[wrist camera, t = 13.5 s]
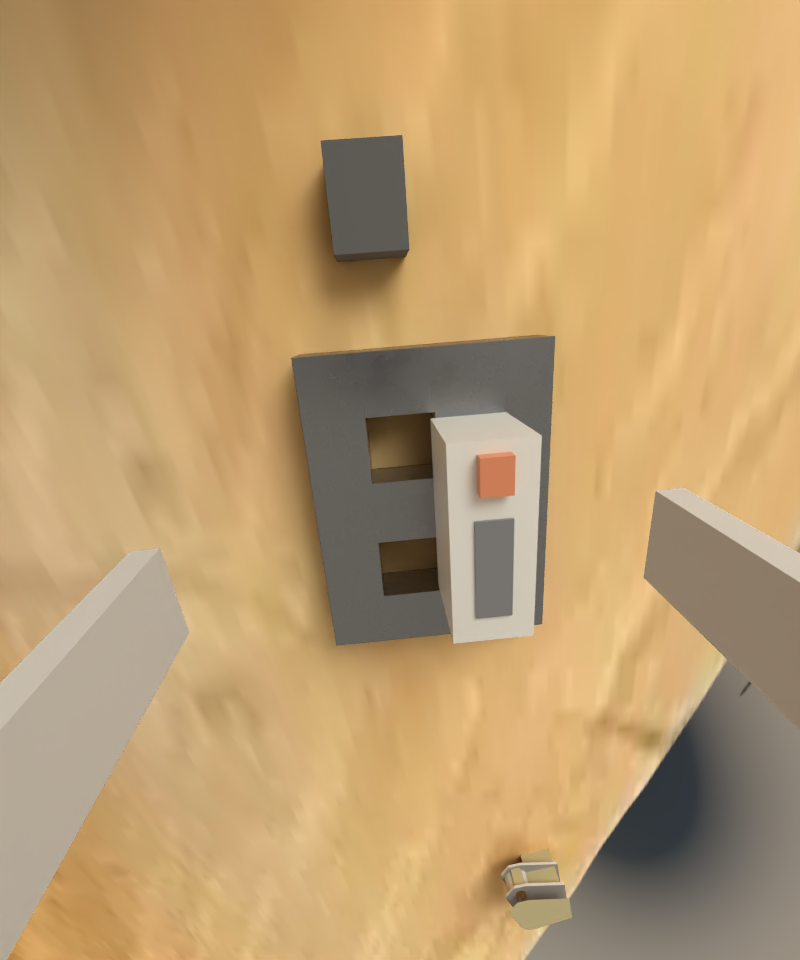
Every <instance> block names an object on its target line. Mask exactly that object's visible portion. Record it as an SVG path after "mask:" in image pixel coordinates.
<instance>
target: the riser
mask: <svg viewBox="0 0 800 960" xmlns="http://www.w3.org/2000/svg"><path fill="white" fill-rule="evenodd" d="M321 148H322V157H323V166H324V174H325V183H326V192H327V200H328V209H329V218H330V226H331V235H332V244H333V252H334V256H335V258H336V260H337V262H344V261H357V260H370V259H383V258H396V257H406V255H407V253H408V251H409V237H408V221H407V205H406V188H405V172H404V156H403V139H402V135H398V136H383V137H368V138H354V139H339V140H324V141H321Z"/></svg>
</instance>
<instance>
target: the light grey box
mask: <svg viewBox="0 0 800 960" xmlns="http://www.w3.org/2000/svg"><path fill="white" fill-rule="evenodd" d="M430 422H431V442H432V463H433V483H434V503H435V523H436V544H437V564H438V584H439V589H440V593H441V597H442V601H443V604H444V608H445V612H446V616H447V620H448V624H449V628H450V632H451V636H452V640H453V644H455V643H465V642H475V641H484V640H494V639H504V638H514V637H524V636H534V614H535V590H536V566H537V542H538V517H539V493H540V469H541V445H542V435H540V434H539V433H537V432H536V431H534V430H533V429H531V428H530V427H528V426H527V425H525V424H524V423H522V422H520V421H519V420H517V419H516V418H514V417H513V416H511V415H510V414H508V413H507V412H501V413H489V414H477V415H465V416H454V417H442V418H430Z"/></svg>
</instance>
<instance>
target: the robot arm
mask: <svg viewBox="0 0 800 960" xmlns="http://www.w3.org/2000/svg"><path fill="white" fill-rule="evenodd" d="M644 578H645V579H646V580H647V581H648V582H649V583H650V584H651V585H652V586H653V587H654V588H655V589H656V590H657V591H658V592H659V593H660V594H661V595H662V596H663V597H664V598H665V599H666V600H667V601H668V602H669V603H670V604H671V605H672V606H673V607H674V608H675V609H676V610H677V611H678V612H679V613H680V614H681V615H682V616H684V617H685V618H686V619H687V620H688V621H689V622H690V623H691V624H692V625H693V626H694V627H695V628H696V629H697V630H698V631H699V632H700V633H701V634H702V635H703V636H704V637H705V638H706V639H707V640H708V641H709V642H710V643H711V644H712V645H713V646H714V647H715V648H716V649H717V650H718V651H719V652H720V653H721V654H722V655H723V656H724V657H725V658H726V659H727V660H728V661H729V662H731V663H732V664H733V665H734V666H735V667H736V668H737V669H738V670H739V671H740V672H741V673H742V674H743V675H744V676H745V677H746V678H747V679H748V680H749V681H750V682H751V683H752V684H753V685H754V686H755V687H756V688H757V689H758V690H759V691H760V692H761V693H762V694H763V695H764V696H765V697H766V698H767V699H768V700H769V701H770V702H771V703H772V704H773V705H774V706H776V708H778V709H779V710H780V711H781V712H782V713H783V714H784V715H785V716H786V717H787V718H788V719H789V720H790V721H791V722H792V723H793V724H794V725H795V726H796V727H797V728H798V729H799V730H800V553H798V552H796V551H795V550H793V549H791V548H789V547H787V546H786V545H784V544H782V543H780V542H779V541H777V540H775V539H773V538H772V537H770V536H768V535H766V534H765V533H763V532H761V531H759V530H758V529H756V528H754V527H752V526H750V525H749V524H747V523H745V522H743V521H742V520H740V519H738V518H736V517H735V516H733V515H731V514H729V513H728V512H726V511H724V510H722V509H721V508H719V507H717V506H715V505H714V504H712V503H710V502H708V501H706V500H705V499H703V498H701V497H699V496H698V495H696V494H694V493H692V492H691V491H689V490H687V489H685V488H676V489H667V490H659V491H656V492H655V500H654V507H653V514H652V521H651V528H650V536H649V543H648V550H647V557H646V564H645V571H644ZM188 634H189V630H188V627H187V624H186V622H185V619H184V616H183V613H182V610H181V607H180V604H179V602H178V599H177V596H176V593H175V590H174V587H173V584H172V582H171V579H170V576H169V573H168V570H167V567H166V565H165V562H164V559H163V556H162V553H161V550H160V548H157V549H148V550H139V551H131V552H129V553H128V554H127V555H126V556H125V557H124V558H123V559H122V560H121V561H120V562H119V563H118V564H117V565H116V566H115V567H114V568H113V569H112V570H111V571H110V572H109V573H108V574H107V575H106V576H105V577H104V578H103V579H102V580H101V581H100V582H99V583H98V584H97V585H96V586H95V587H94V588H93V589H92V590H91V591H90V592H89V594H88V595H87V596H86V597H85V598H84V599H83V600H82V601H81V602H80V603H79V604H78V605H77V606H76V607H75V608H74V609H73V610H72V611H71V612H70V613H69V614H68V615H67V616H66V617H65V618H64V619H63V620H62V621H61V622H60V623H59V624H58V625H57V626H56V627H55V628H54V629H53V630H52V631H51V632H50V633H49V634H48V635H47V636H46V637H45V638H44V639H43V640H42V641H41V642H40V643H39V644H38V645H37V646H36V647H35V648H34V649H33V650H32V651H31V652H30V653H29V654H28V655H27V656H26V657H25V658H24V659H23V660H22V661H21V662H20V663H19V664H18V665H17V666H16V667H15V668H14V669H13V670H12V672H11V673H10V674H9V675H8V676H7V677H6V678H5V679H4V680H3V681H2V682H1V683H0V960H7V959H8V957H9V955H10V954H11V952H12V950H13V948H14V946H15V945H16V943H17V941H18V939H19V937H20V936H21V934H22V932H23V930H24V928H25V927H26V925H27V923H28V921H29V919H30V918H31V916H32V914H33V912H34V910H35V909H36V907H37V905H38V903H39V901H40V900H41V898H42V896H43V894H44V892H45V891H46V889H47V887H48V885H49V884H50V882H51V880H52V878H53V876H54V875H55V873H56V871H57V869H58V867H59V866H60V864H61V862H62V860H63V858H64V857H65V855H66V853H67V851H68V849H69V848H70V846H71V844H72V842H73V840H74V839H75V837H76V835H77V833H78V831H79V830H80V828H81V826H82V824H83V822H84V821H85V819H86V817H87V815H88V813H89V812H90V810H91V808H92V806H93V804H94V803H95V801H96V799H97V797H98V795H99V794H100V792H101V790H102V788H103V787H104V785H105V783H106V781H107V779H108V778H109V776H110V774H111V772H112V770H113V769H114V767H115V765H116V763H117V761H118V760H119V758H120V756H121V754H122V752H123V751H124V749H125V747H126V745H127V743H128V742H129V740H130V738H131V736H132V734H133V733H134V731H135V729H136V727H137V725H138V724H139V722H140V720H141V718H142V716H143V715H144V713H145V711H146V709H147V707H148V706H149V704H150V702H151V700H152V699H153V697H154V695H155V693H156V691H157V690H158V688H159V686H160V684H161V682H162V681H163V679H164V677H165V675H166V673H167V672H168V670H169V668H170V666H171V664H172V663H173V661H174V659H175V657H176V655H177V654H178V652H179V650H180V648H181V646H182V645H183V643H184V641H185V639H186V637H187V636H188Z"/></svg>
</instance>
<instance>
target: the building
mask: <svg viewBox="0 0 800 960" xmlns="http://www.w3.org/2000/svg"><path fill="white" fill-rule="evenodd" d="M521 859H522V862H523V863H516V864H512V865H508V866H507V867H506V868H505V870H504V871H503V872H502V873H501V877H502V879H503V880H504V882H505V883H506V884H507V888H508V893H507V894H506V898H507V900H508V902H509V903H510V904H511V905H512V907H513V908H512V909H511V910H510V914H511V915H512V916H513V918H514V919H515V920H516V921H517V923H518V924H519V925H520V926H521V927H522V928H524V929H529V930H530V929H537V928H540V927H543V926H546V925H550V924H553V923H556V922H559V921H562V920H566V919H569V918H572V914H571V908H570V901H569V899H567V898H566V892H565V886H564V883H563V882H560V878H559V872H558V865H557V862H553V861H552V858H551V855H550V852H549V849H545V850H541V851H536V852H532V853H527V854H522V855H521Z"/></svg>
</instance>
